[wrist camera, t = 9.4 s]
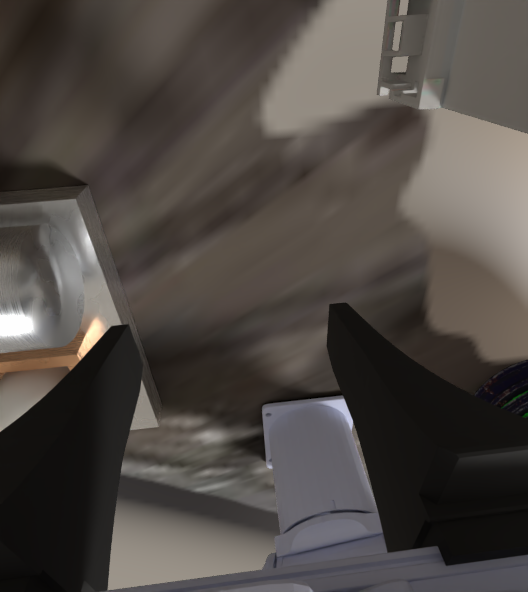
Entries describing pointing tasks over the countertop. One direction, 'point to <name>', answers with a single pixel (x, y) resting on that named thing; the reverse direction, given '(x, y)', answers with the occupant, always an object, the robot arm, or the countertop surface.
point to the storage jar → (508, 389)
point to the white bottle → (26, 391)
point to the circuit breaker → (460, 58)
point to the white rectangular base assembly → (61, 287)
